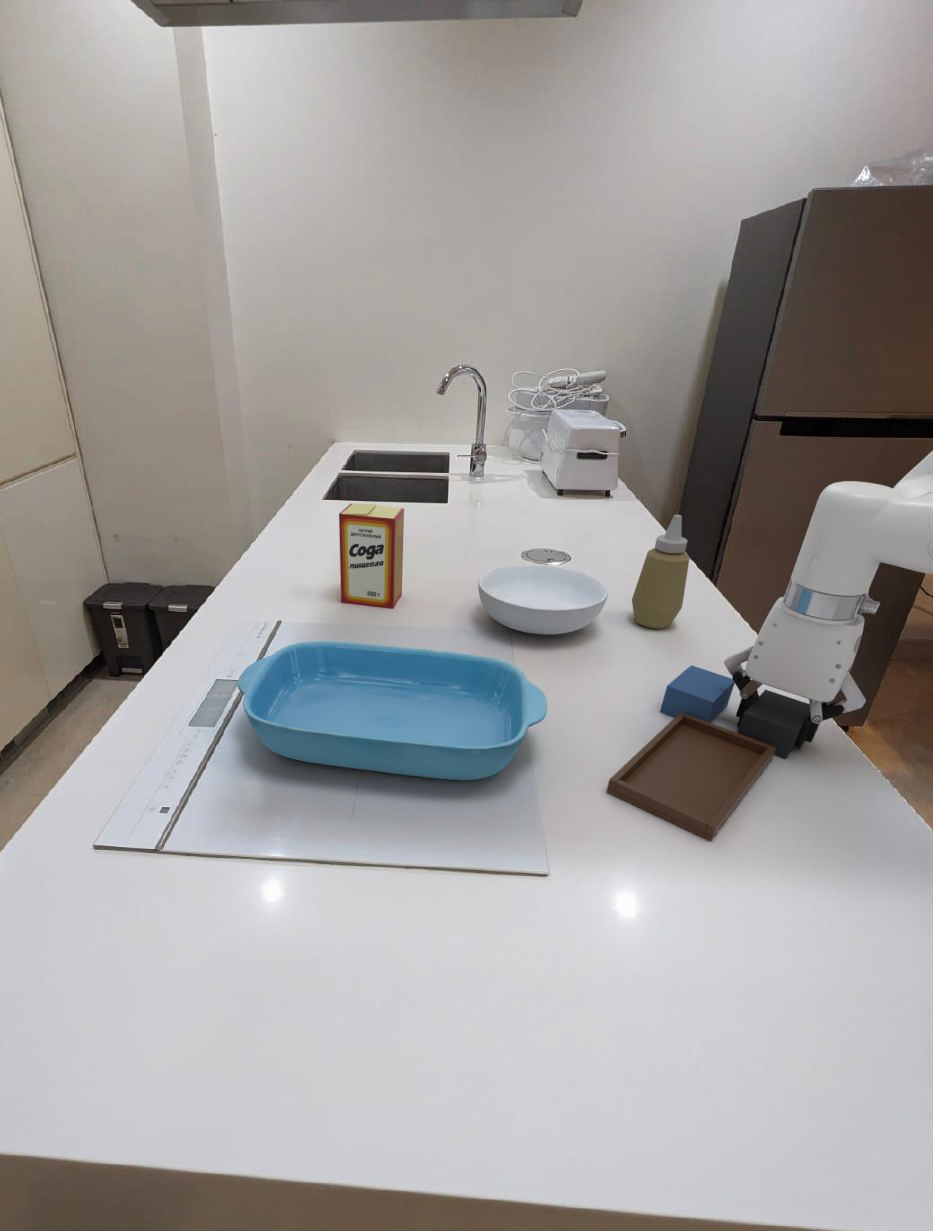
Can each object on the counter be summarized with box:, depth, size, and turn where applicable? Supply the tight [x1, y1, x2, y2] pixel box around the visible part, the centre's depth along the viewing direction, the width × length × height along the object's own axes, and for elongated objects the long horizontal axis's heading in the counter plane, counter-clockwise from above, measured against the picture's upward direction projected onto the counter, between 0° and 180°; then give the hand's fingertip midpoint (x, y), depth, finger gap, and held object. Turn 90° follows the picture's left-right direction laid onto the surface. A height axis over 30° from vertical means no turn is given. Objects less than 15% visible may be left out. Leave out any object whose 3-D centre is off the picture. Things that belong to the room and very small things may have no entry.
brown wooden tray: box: [606, 712, 776, 842], centre depth 77 cm, size 12×20×2 cm, turn 138°
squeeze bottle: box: [631, 514, 690, 629], centre depth 109 cm, size 8×8×18 cm
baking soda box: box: [338, 503, 405, 609], centre depth 116 cm, size 10×6×16 cm
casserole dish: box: [237, 640, 548, 781], centre depth 82 cm, size 37×22×7 cm, turn 81°
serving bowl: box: [477, 563, 609, 635], centre depth 111 cm, size 21×21×7 cm
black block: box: [736, 689, 810, 760], centre depth 84 cm, size 6×8×4 cm
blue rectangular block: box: [659, 664, 736, 723], centre depth 89 cm, size 6×8×4 cm
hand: (771, 732), depth 85 cm, fingers open, 6 cm apart
